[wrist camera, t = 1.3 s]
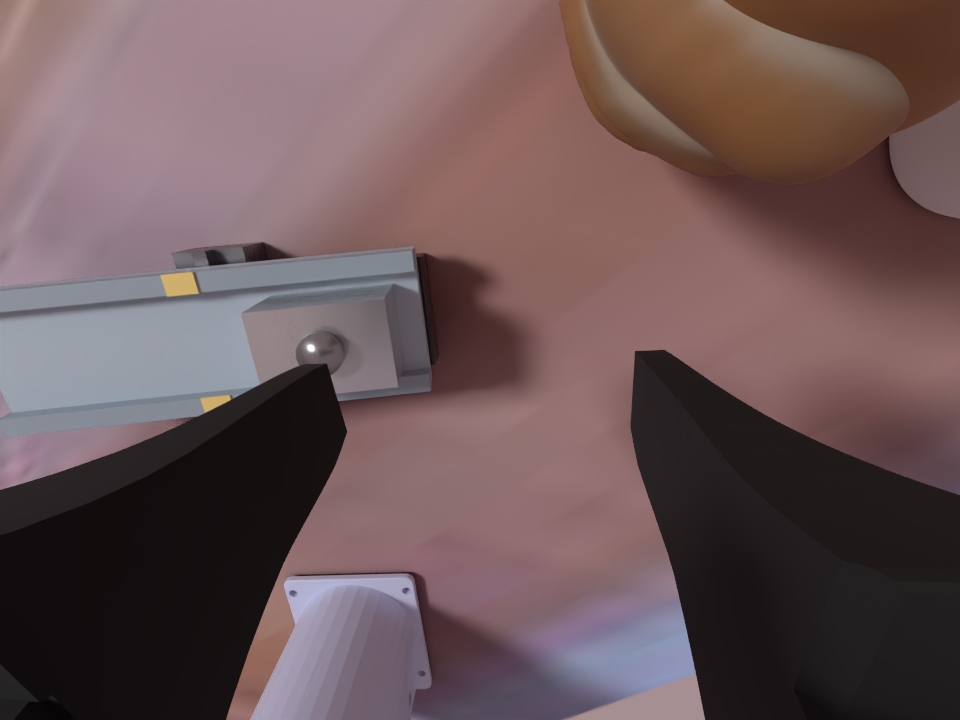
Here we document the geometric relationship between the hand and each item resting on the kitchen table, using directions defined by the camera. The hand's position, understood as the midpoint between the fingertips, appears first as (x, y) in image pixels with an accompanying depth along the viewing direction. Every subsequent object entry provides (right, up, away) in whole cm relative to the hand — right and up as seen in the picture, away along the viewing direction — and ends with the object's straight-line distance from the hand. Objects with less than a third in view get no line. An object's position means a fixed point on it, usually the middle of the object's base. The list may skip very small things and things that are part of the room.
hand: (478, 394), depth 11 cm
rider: (-6, +2, +9) cm, 11 cm away
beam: (-11, +2, +10) cm, 15 cm away
